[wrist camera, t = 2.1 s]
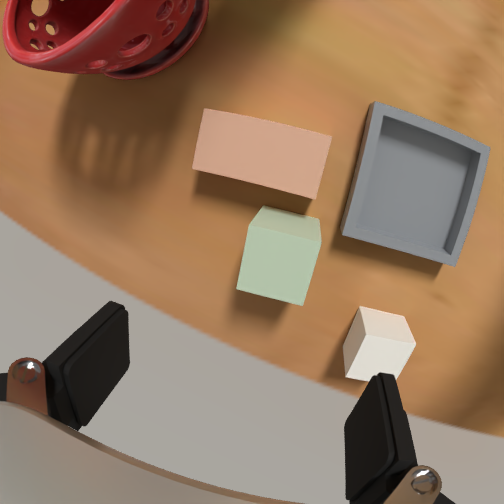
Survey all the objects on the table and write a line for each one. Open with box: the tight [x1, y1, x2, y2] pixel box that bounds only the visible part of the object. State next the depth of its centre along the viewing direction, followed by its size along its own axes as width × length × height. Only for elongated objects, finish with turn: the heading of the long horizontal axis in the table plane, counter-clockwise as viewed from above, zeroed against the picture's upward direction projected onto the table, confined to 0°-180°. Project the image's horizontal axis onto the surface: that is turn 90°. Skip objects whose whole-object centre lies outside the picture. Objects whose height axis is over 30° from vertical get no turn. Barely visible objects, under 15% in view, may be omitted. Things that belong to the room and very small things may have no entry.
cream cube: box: [343, 306, 416, 381], centre depth 25 cm, size 4×4×4 cm
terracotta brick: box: [192, 108, 332, 199], centre depth 22 cm, size 9×4×3 cm, turn 77°
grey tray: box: [340, 101, 490, 267], centre depth 21 cm, size 10×10×2 cm
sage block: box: [236, 205, 321, 306], centre depth 23 cm, size 4×4×6 cm
